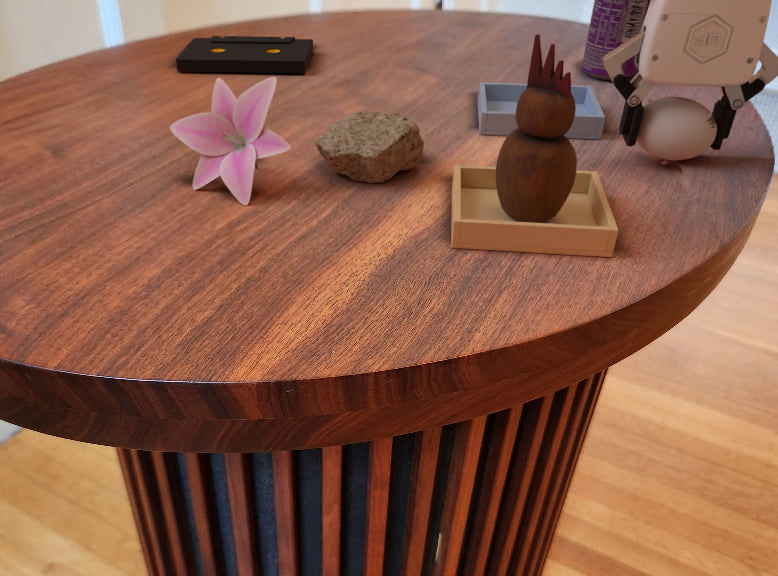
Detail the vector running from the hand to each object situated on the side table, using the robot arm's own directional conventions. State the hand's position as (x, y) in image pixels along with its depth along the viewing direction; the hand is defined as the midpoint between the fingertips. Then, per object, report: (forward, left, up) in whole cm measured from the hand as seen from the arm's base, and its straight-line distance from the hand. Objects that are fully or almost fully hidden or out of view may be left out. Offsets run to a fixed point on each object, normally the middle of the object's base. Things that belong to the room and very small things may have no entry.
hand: (670, 142), depth 78 cm
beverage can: (+1, -31, -2) cm, 31 cm away
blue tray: (+12, -12, -2) cm, 17 cm away
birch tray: (+15, +15, -2) cm, 21 cm away
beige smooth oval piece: (0, 0, -3) cm, 3 cm away
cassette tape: (+51, -32, -2) cm, 60 cm away
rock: (+30, +5, -2) cm, 31 cm away
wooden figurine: (+15, +15, -2) cm, 21 cm away
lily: (+43, +10, -2) cm, 44 cm away
